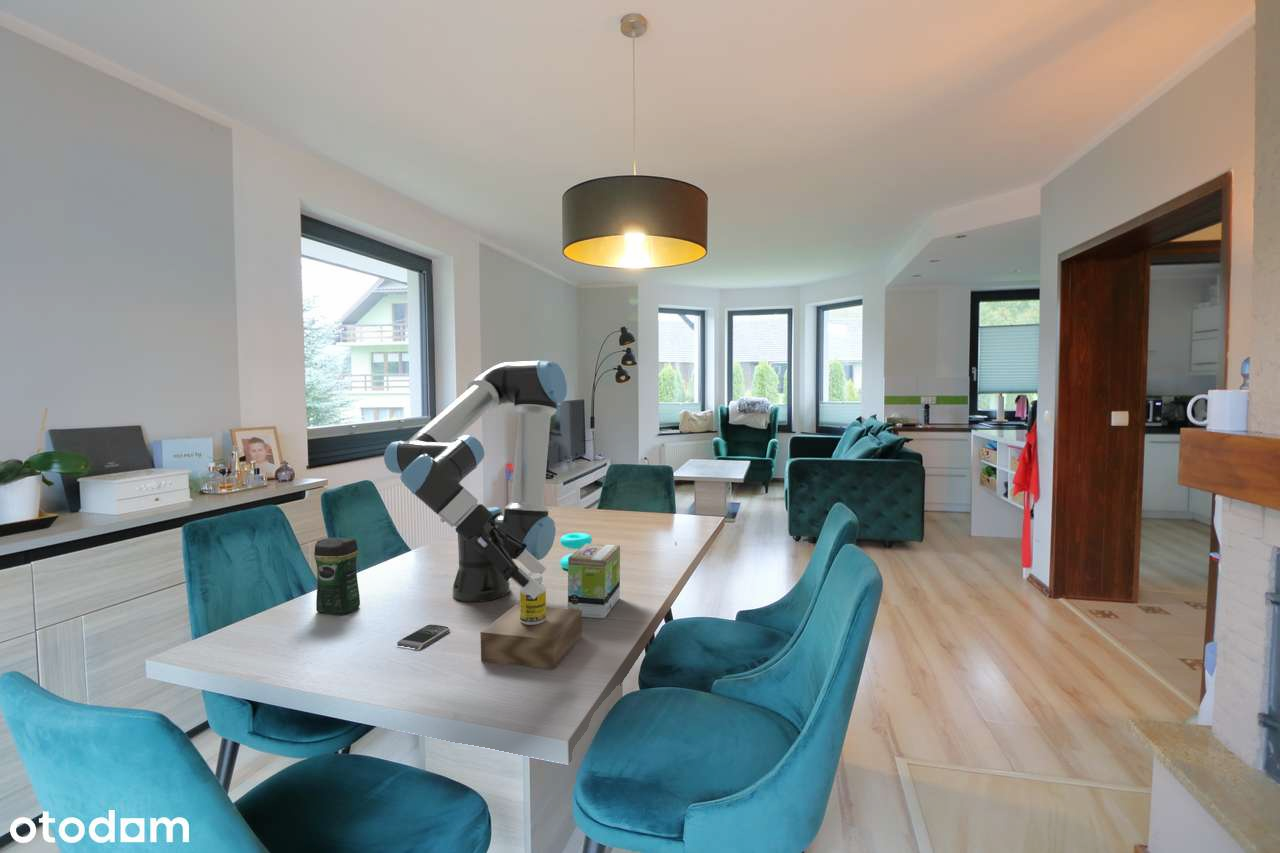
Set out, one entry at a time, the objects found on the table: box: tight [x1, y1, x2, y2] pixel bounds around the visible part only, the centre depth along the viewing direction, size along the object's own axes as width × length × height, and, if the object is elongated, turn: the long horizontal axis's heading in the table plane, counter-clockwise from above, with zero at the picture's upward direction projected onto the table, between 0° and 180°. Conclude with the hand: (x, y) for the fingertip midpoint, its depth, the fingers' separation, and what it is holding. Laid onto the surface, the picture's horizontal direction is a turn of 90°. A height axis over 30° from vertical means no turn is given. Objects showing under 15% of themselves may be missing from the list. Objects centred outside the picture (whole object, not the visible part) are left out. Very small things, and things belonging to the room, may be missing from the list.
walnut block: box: [480, 603, 583, 670], centre depth 122 cm, size 16×16×6 cm
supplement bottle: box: [519, 572, 547, 625], centre depth 122 cm, size 5×5×10 cm
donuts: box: [560, 532, 593, 570], centre depth 181 cm, size 10×10×10 cm
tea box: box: [567, 543, 621, 619], centre depth 146 cm, size 15×10×15 cm
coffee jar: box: [313, 537, 361, 616], centre depth 145 cm, size 10×8×19 cm
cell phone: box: [396, 624, 450, 650], centre depth 128 cm, size 6×11×1 cm, turn 161°
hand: (540, 583), depth 122 cm, fingers open, 13 cm apart
